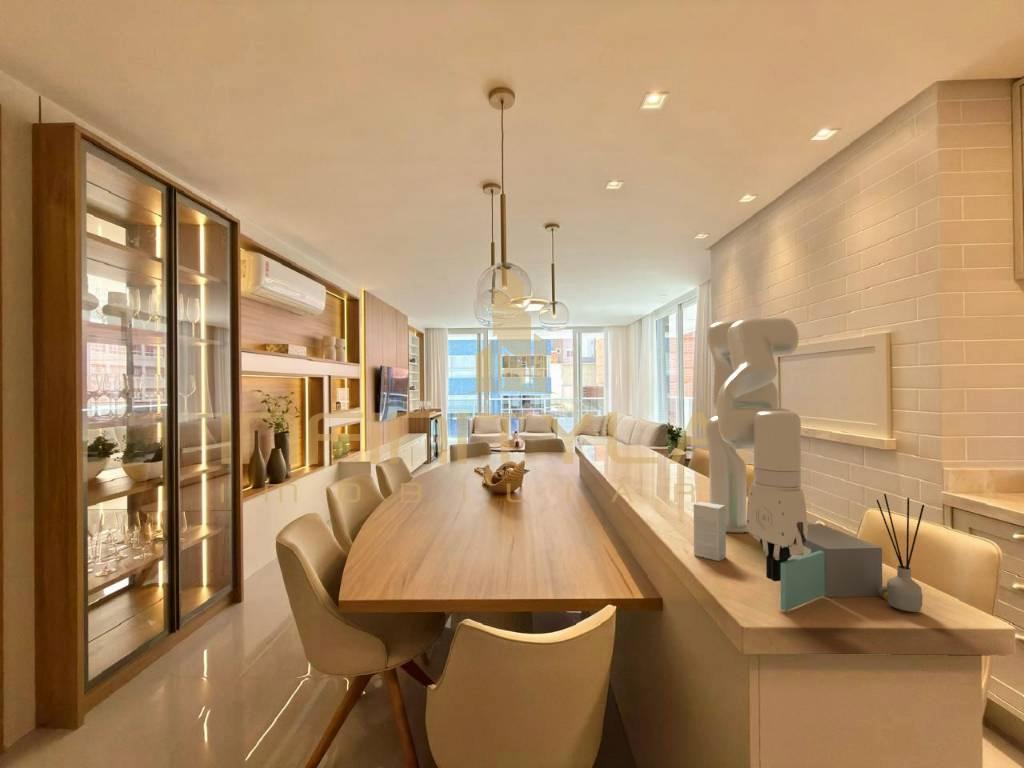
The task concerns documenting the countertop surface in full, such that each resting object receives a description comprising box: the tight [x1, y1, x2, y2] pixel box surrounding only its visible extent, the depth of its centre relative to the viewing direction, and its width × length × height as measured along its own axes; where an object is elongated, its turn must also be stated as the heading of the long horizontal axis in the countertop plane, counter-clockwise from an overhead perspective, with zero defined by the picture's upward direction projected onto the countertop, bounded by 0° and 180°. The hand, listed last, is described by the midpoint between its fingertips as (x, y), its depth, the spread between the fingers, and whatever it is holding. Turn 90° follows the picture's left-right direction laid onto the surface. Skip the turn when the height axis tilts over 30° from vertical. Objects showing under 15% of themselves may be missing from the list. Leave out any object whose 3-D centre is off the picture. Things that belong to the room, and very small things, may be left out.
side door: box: [780, 551, 825, 612], centre depth 86 cm, size 13×1×8 cm, turn 121°
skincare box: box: [693, 501, 727, 562], centre depth 111 cm, size 6×4×12 cm
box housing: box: [782, 523, 883, 598], centre depth 98 cm, size 16×11×9 cm
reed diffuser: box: [876, 493, 925, 613], centre depth 85 cm, size 10×7×20 cm
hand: (777, 578), depth 87 cm, fingers closed
